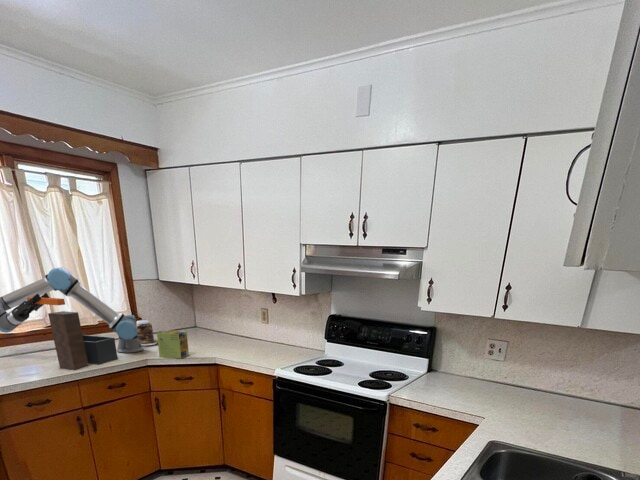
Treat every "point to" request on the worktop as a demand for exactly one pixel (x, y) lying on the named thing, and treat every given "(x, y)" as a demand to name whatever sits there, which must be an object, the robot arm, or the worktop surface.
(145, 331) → the jar
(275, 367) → the worktop surface
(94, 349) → the trash bin
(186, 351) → the protein box
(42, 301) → the orange bar
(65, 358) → the stand
